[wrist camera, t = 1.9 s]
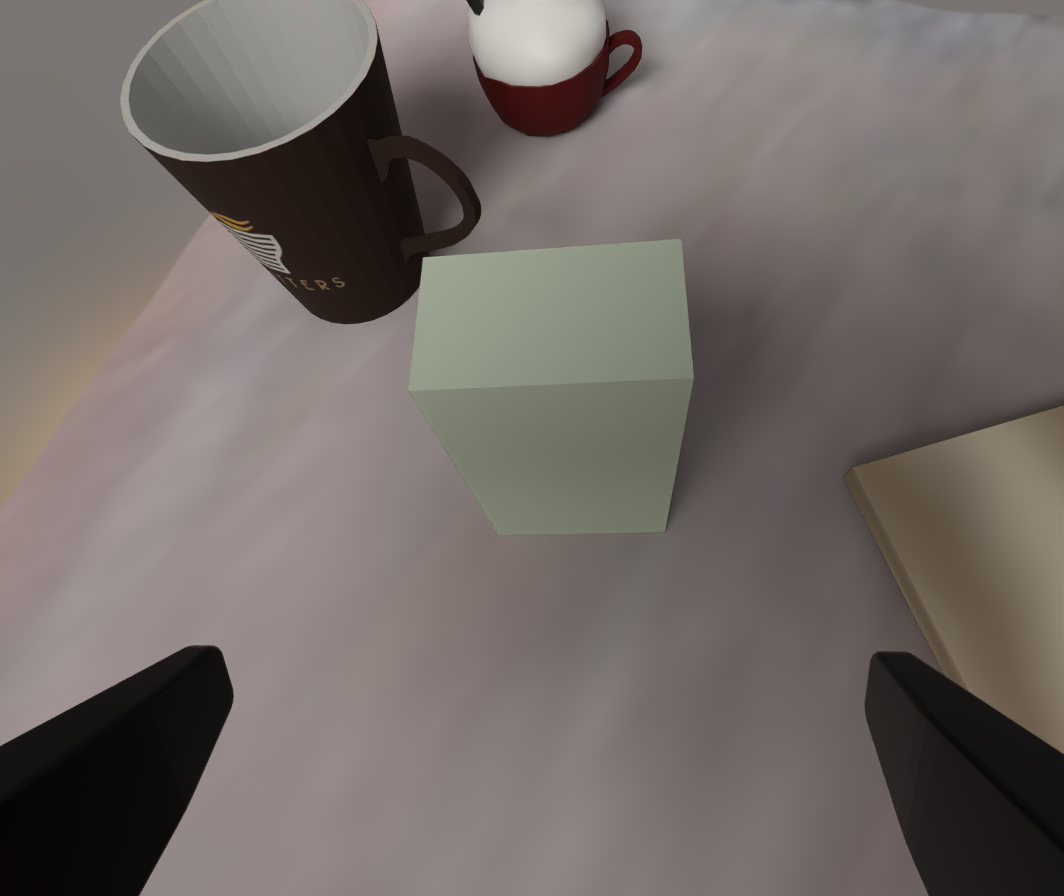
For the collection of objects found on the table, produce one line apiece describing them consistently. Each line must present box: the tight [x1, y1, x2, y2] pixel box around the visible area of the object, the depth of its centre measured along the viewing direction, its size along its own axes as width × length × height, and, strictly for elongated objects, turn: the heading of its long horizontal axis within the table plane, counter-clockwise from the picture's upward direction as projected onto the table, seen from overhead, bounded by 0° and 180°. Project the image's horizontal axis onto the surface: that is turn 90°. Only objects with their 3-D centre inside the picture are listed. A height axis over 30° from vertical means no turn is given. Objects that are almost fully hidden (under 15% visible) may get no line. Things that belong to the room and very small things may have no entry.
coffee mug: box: [120, 0, 481, 324], centre depth 25 cm, size 12×9×10 cm
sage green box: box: [408, 239, 694, 535], centre depth 19 cm, size 4×6×11 cm, turn 89°
